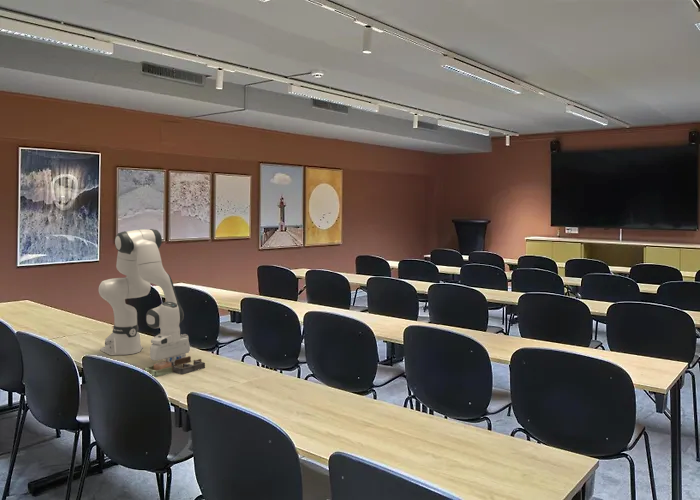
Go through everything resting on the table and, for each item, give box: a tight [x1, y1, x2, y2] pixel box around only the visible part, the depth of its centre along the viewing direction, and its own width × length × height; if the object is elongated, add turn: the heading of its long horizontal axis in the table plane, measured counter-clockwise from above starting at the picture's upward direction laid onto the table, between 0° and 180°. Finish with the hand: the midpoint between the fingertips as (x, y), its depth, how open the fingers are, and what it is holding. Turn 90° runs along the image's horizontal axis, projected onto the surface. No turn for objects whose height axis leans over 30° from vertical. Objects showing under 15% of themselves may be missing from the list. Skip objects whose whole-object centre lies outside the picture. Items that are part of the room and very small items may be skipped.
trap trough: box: [143, 355, 206, 378], centre depth 272 cm, size 15×26×2 cm, turn 145°
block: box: [153, 360, 172, 371], centre depth 268 cm, size 5×6×4 cm
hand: (170, 366), depth 272 cm, fingers closed
